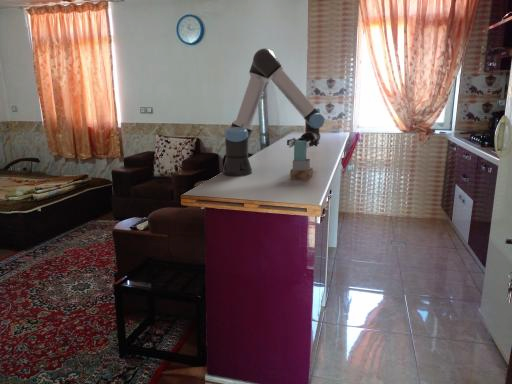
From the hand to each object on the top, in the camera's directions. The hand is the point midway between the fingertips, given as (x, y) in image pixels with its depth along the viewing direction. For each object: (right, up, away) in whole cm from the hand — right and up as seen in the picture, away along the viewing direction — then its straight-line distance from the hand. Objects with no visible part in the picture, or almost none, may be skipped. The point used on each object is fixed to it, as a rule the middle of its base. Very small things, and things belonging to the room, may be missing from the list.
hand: (298, 145), depth 188 cm
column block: (+2, -6, +6) cm, 9 cm away
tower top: (+2, -11, +7) cm, 13 cm away
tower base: (+2, -15, +8) cm, 17 cm away
